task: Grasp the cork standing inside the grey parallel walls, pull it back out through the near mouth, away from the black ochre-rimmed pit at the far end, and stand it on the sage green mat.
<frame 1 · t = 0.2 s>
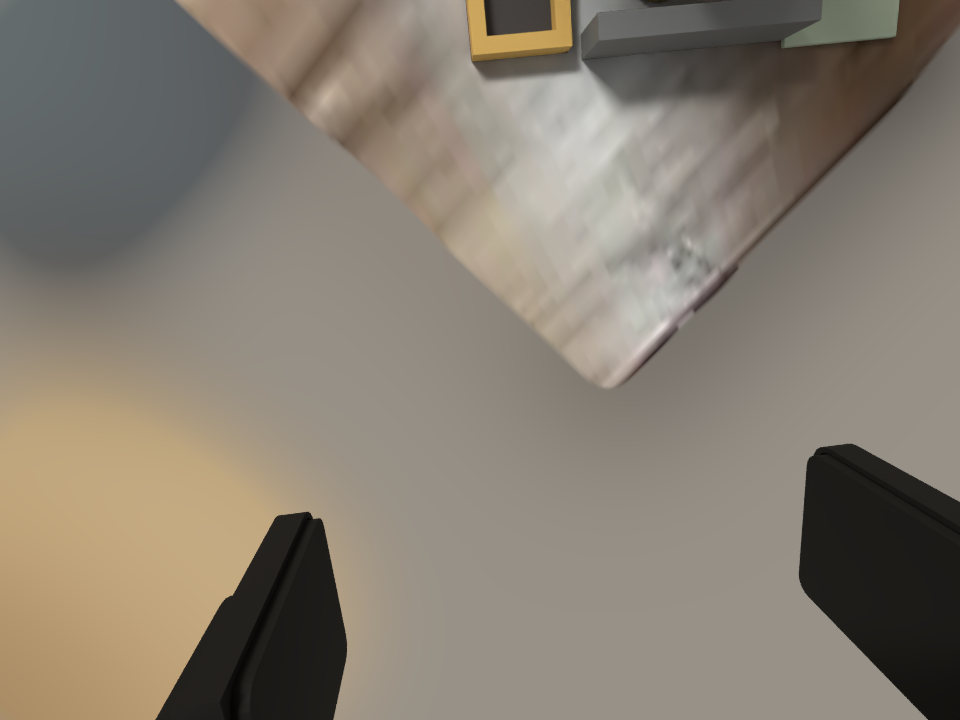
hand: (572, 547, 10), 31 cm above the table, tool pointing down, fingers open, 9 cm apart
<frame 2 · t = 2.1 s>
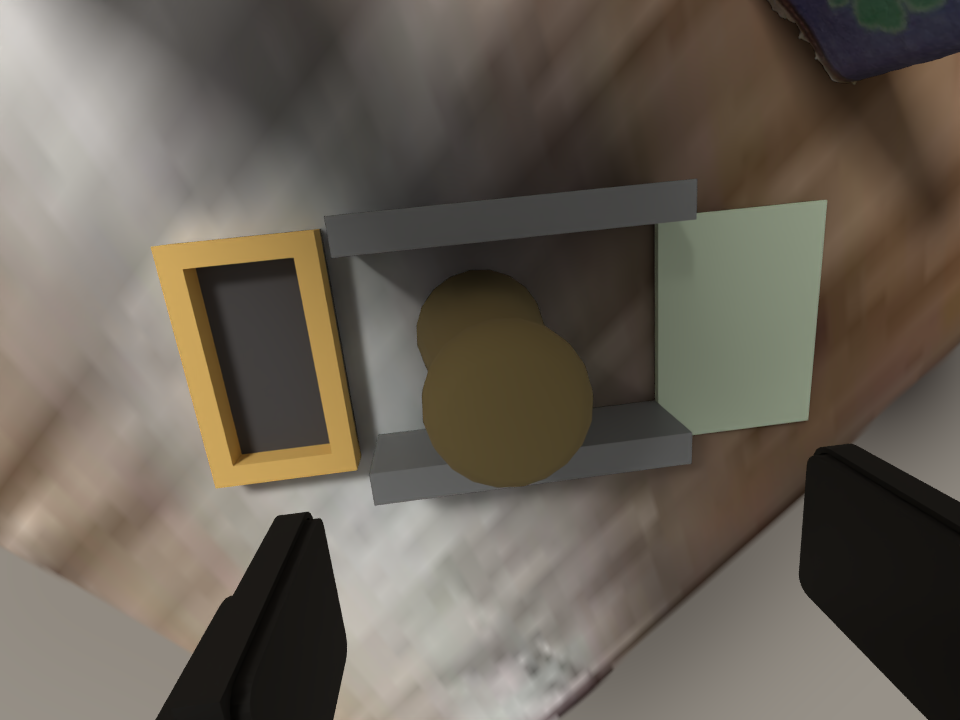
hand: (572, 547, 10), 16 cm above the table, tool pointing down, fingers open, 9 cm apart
cork: (479, 332, 25), on the table
pit: (271, 357, 24), on the table
mat: (733, 324, 26), on the table
grey parallel walls: (511, 330, 25), on the table
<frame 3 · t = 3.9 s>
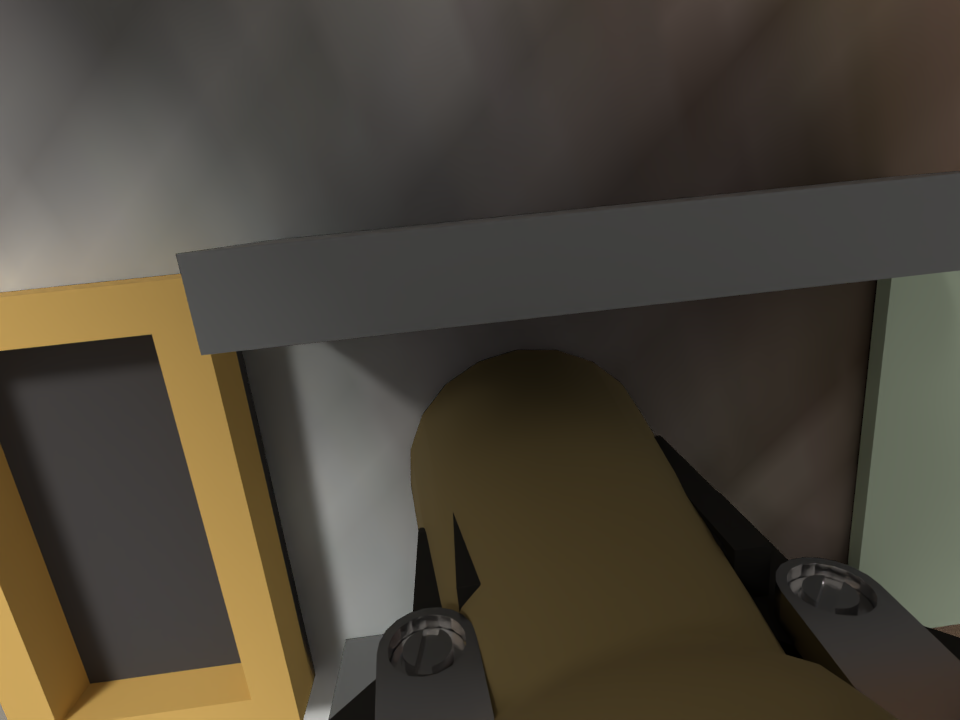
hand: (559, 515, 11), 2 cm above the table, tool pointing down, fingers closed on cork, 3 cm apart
cork: (529, 462, 13), on the table, touching gripper
pit: (138, 512, 13), on the table
grey parallel walls: (595, 455, 13), on the table
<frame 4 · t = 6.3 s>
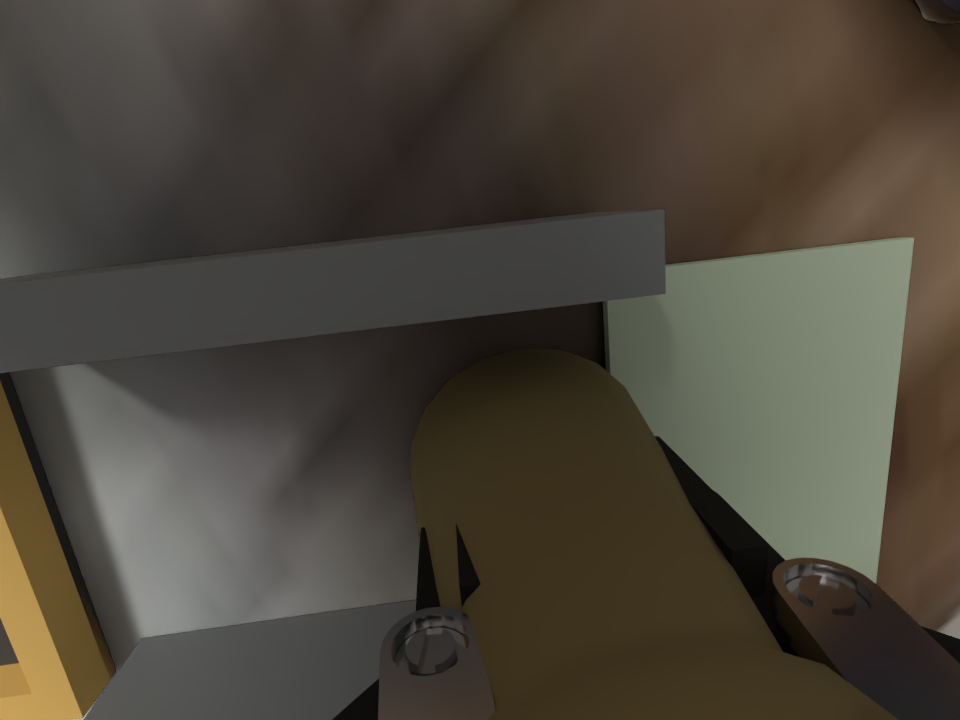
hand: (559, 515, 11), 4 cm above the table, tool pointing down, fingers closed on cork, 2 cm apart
cork: (529, 460, 13), point 1 cm above the table, touching gripper
mat: (747, 448, 15), on the table
grey parallel walls: (357, 466, 14), on the table
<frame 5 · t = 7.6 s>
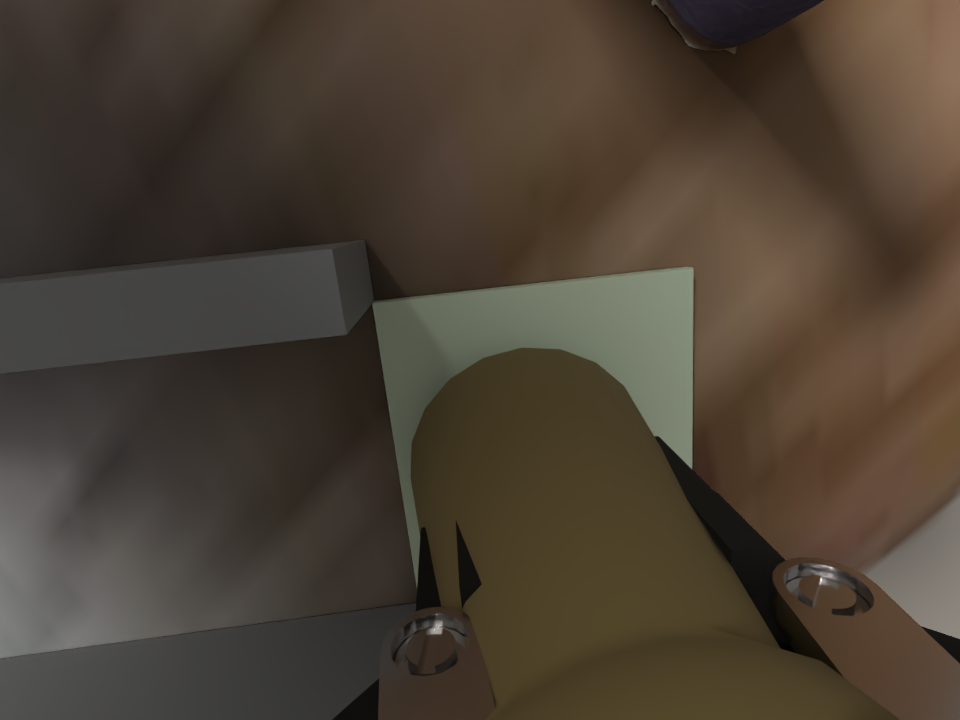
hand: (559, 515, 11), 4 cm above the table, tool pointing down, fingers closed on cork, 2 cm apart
cork: (529, 459, 13), point 1 cm above the table, touching gripper
mat: (546, 478, 15), on the table
grey parallel walls: (137, 496, 14), on the table
when the fingers open (3 cm above the table, at t = 8.6 s): cork stays where it is, resting on mat.
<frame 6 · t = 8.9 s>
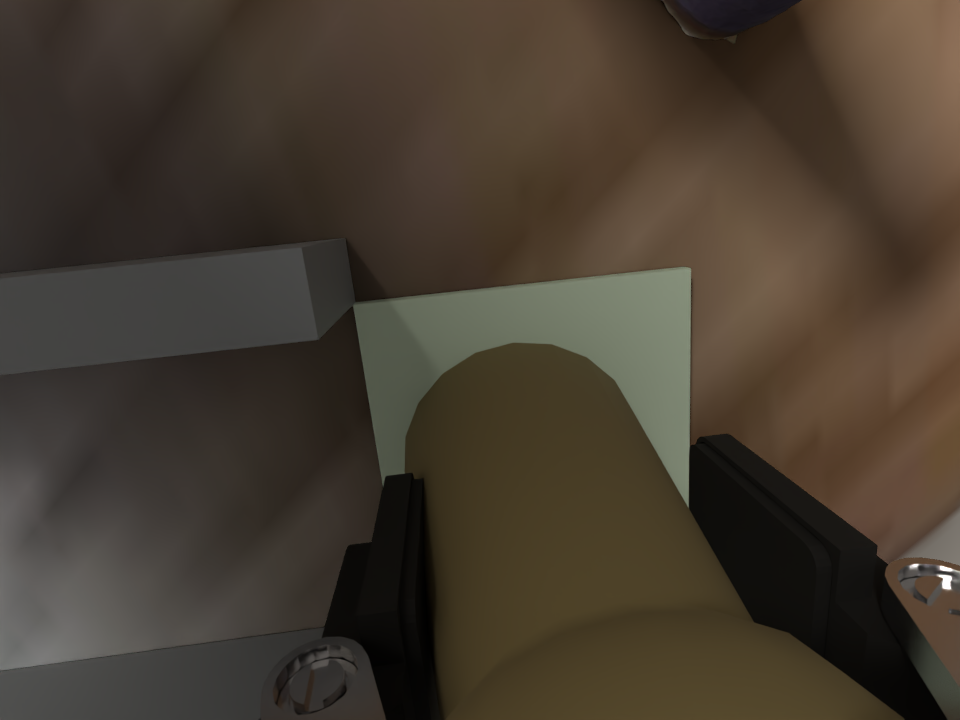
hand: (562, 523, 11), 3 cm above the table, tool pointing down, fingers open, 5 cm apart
cork: (521, 453, 14), resting on mat
mat: (537, 488, 14), on the table
grey parallel walls: (108, 506, 13), on the table
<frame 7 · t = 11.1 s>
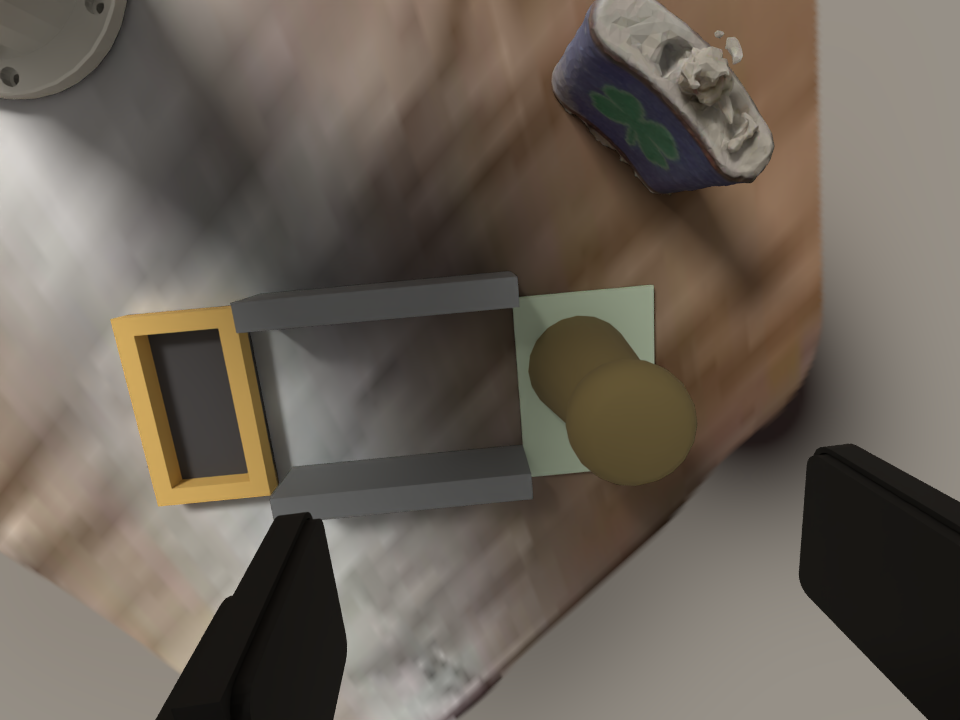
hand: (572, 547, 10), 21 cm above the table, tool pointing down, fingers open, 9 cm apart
cork: (579, 365, 31), resting on mat
pit: (206, 402, 31), on the table
flask: (620, 128, 28), on the table
mat: (585, 383, 31), on the table
grey parallel walls: (398, 384, 31), on the table
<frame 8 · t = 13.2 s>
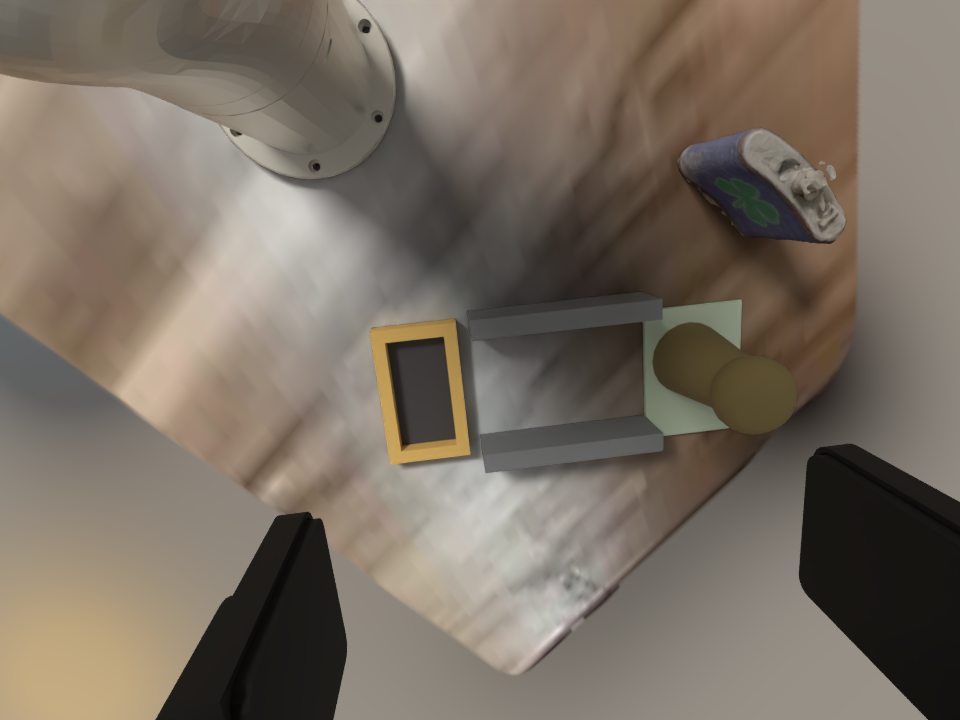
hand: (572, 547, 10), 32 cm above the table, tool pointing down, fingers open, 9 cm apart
cork: (687, 357, 43), resting on mat
pit: (422, 389, 43), on the table
flask: (722, 191, 41), on the table
mat: (690, 369, 44), on the table
grey parallel walls: (559, 373, 43), on the table
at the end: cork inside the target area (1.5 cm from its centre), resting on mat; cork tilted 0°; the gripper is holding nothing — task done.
